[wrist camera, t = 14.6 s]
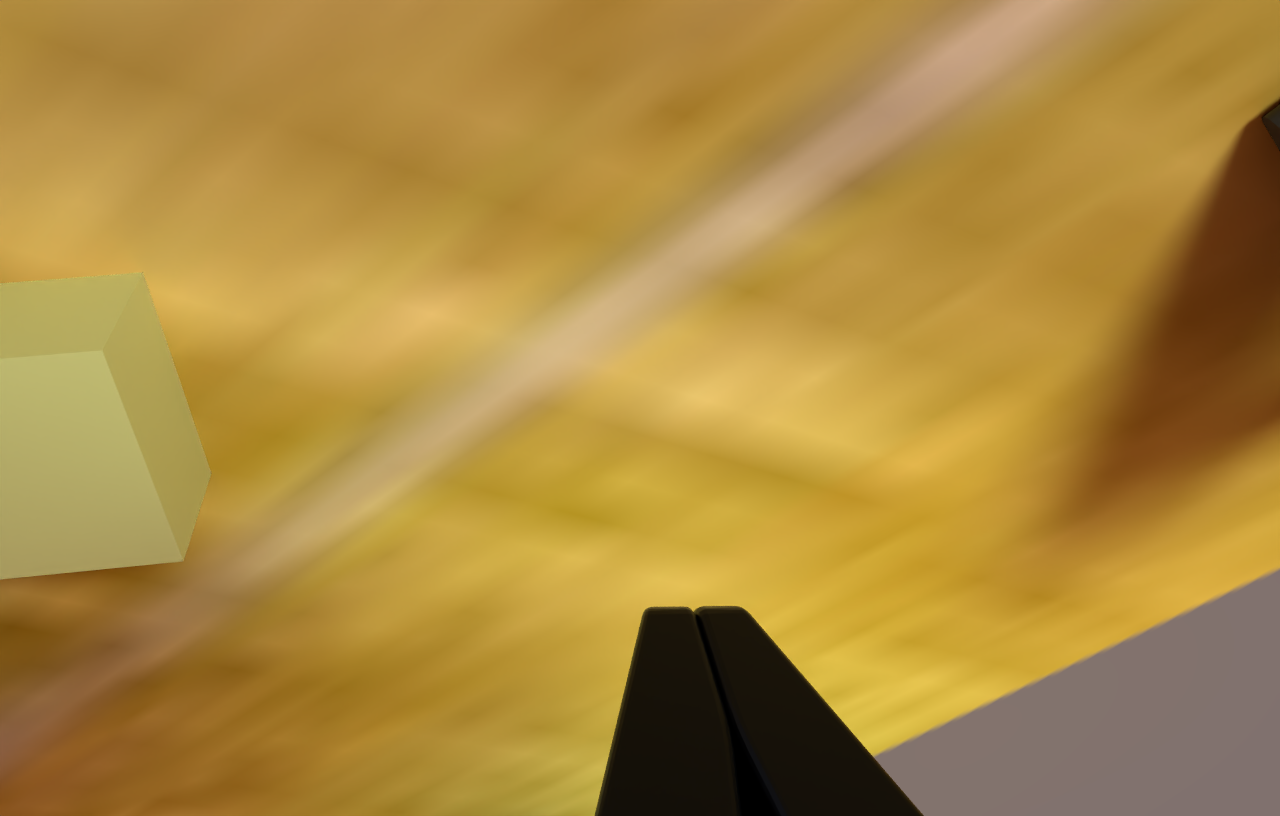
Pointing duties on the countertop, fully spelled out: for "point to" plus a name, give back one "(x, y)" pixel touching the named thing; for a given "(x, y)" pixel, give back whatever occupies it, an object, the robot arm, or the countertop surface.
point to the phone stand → (1273, 124)
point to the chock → (92, 430)
